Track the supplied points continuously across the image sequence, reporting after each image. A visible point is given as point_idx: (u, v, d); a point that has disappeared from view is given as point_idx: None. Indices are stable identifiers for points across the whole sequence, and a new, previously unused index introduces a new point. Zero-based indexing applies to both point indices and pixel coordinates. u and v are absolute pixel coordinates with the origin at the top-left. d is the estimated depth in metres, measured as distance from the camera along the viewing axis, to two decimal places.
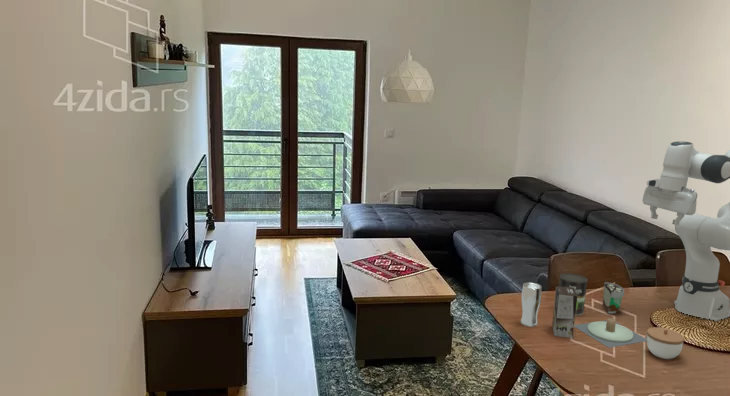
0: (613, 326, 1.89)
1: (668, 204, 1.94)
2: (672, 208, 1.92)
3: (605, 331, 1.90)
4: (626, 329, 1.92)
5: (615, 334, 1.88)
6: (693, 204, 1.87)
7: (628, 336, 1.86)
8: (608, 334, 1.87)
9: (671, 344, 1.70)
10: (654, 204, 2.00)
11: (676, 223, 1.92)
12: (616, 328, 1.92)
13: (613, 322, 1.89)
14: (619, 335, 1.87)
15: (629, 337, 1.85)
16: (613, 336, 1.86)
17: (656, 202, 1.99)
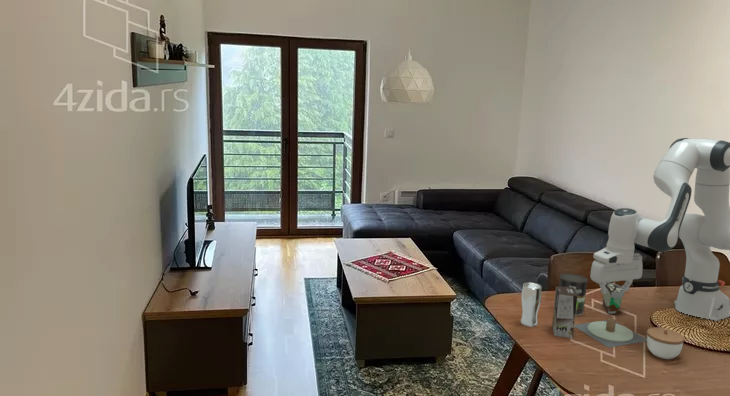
0: (613, 326, 1.89)
1: (624, 274, 1.85)
2: (628, 277, 1.86)
3: (605, 331, 1.90)
4: (626, 329, 1.92)
5: (615, 334, 1.88)
6: None
7: (628, 336, 1.86)
8: (608, 334, 1.87)
9: (671, 344, 1.70)
10: (610, 280, 1.84)
11: None
12: (616, 328, 1.92)
13: (613, 322, 1.89)
14: (619, 335, 1.87)
15: (629, 337, 1.85)
16: (613, 336, 1.86)
17: (612, 276, 1.84)
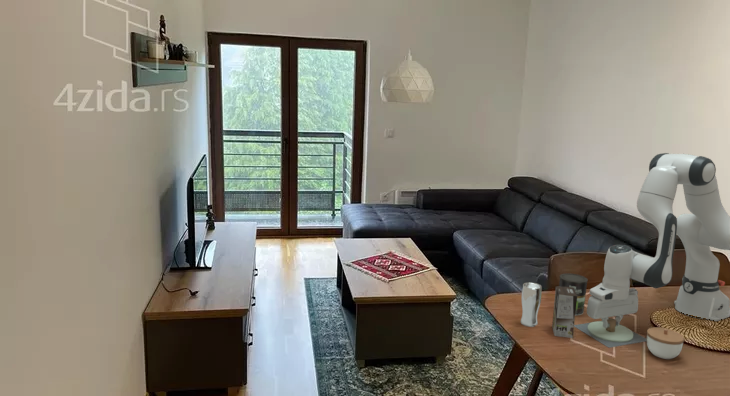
0: (613, 326, 1.89)
1: (620, 309, 1.88)
2: (624, 312, 1.89)
3: (605, 331, 1.90)
4: (626, 329, 1.92)
5: (615, 334, 1.88)
6: None
7: (628, 336, 1.86)
8: (608, 334, 1.87)
9: (671, 344, 1.70)
10: (606, 315, 1.86)
11: None
12: (616, 328, 1.92)
13: (613, 322, 1.89)
14: (619, 335, 1.87)
15: (629, 337, 1.85)
16: (613, 336, 1.86)
17: (608, 312, 1.86)
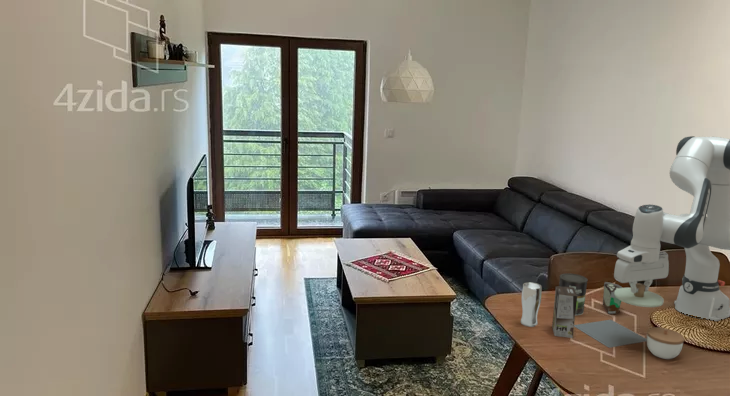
0: (642, 291, 1.79)
1: (649, 273, 1.78)
2: (654, 276, 1.79)
3: (633, 296, 1.80)
4: (655, 295, 1.82)
5: (644, 299, 1.78)
6: None
7: (659, 301, 1.76)
8: (637, 299, 1.77)
9: (671, 344, 1.70)
10: (635, 279, 1.76)
11: None
12: (645, 294, 1.82)
13: (642, 287, 1.79)
14: (649, 300, 1.77)
15: (659, 302, 1.75)
16: (642, 301, 1.76)
17: (637, 276, 1.76)
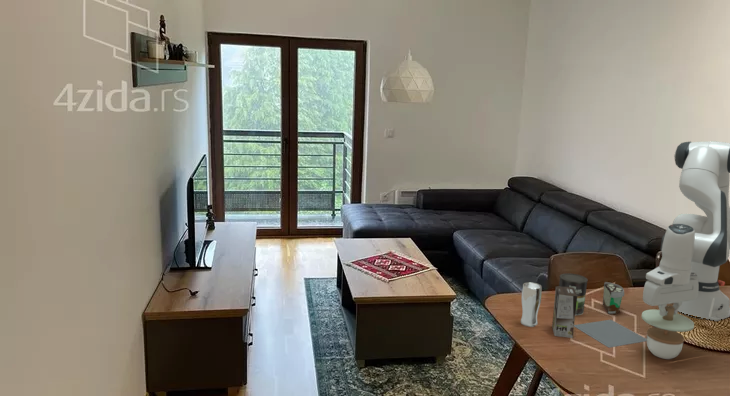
0: (671, 314, 1.72)
1: (679, 296, 1.71)
2: (684, 299, 1.72)
3: (662, 320, 1.72)
4: (685, 318, 1.74)
5: (674, 323, 1.70)
6: None
7: (689, 325, 1.69)
8: (666, 323, 1.70)
9: (671, 344, 1.70)
10: (665, 302, 1.69)
11: None
12: (673, 316, 1.75)
13: (671, 310, 1.71)
14: (679, 323, 1.70)
15: (690, 326, 1.68)
16: (672, 325, 1.69)
17: (667, 298, 1.69)
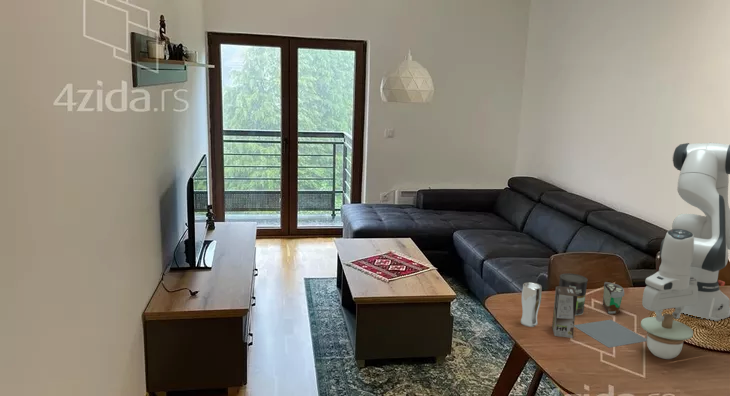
0: (670, 322, 1.72)
1: (678, 301, 1.71)
2: (683, 303, 1.72)
3: (661, 328, 1.73)
4: (684, 325, 1.75)
5: (673, 331, 1.71)
6: None
7: (688, 333, 1.69)
8: (666, 331, 1.71)
9: (671, 344, 1.70)
10: (664, 307, 1.69)
11: None
12: (673, 324, 1.76)
13: (671, 318, 1.72)
14: (678, 332, 1.70)
15: (689, 334, 1.69)
16: (671, 333, 1.69)
17: (667, 303, 1.69)
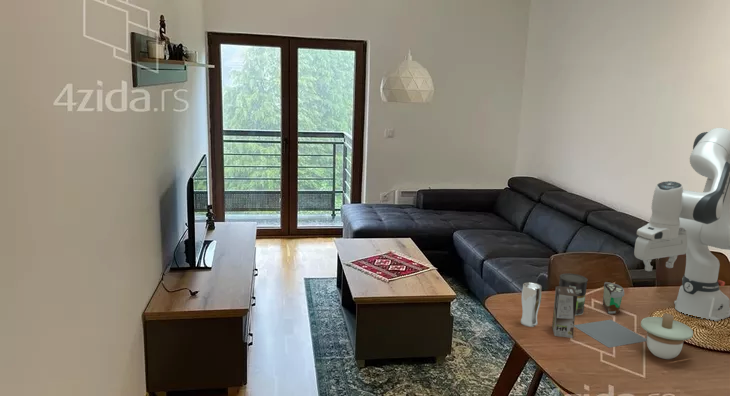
0: (671, 322, 1.72)
1: (669, 250, 1.78)
2: (673, 253, 1.79)
3: (662, 328, 1.73)
4: (684, 325, 1.75)
5: (673, 331, 1.71)
6: None
7: (688, 333, 1.69)
8: (666, 331, 1.71)
9: (671, 344, 1.70)
10: (655, 256, 1.76)
11: None
12: (673, 324, 1.76)
13: (671, 318, 1.72)
14: (678, 332, 1.70)
15: (689, 334, 1.69)
16: (671, 333, 1.69)
17: (657, 253, 1.77)
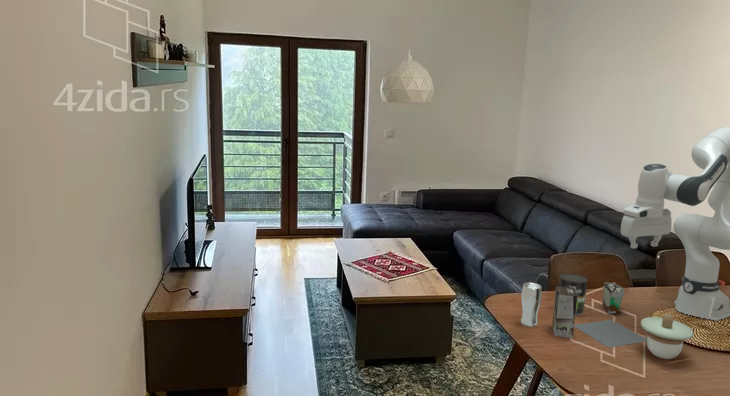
0: (671, 322, 1.72)
1: (653, 229, 1.88)
2: (658, 232, 1.89)
3: (662, 328, 1.73)
4: (684, 325, 1.75)
5: (673, 331, 1.71)
6: None
7: (688, 333, 1.69)
8: (666, 331, 1.71)
9: (671, 344, 1.70)
10: (640, 234, 1.87)
11: None
12: (672, 324, 1.76)
13: (671, 318, 1.72)
14: (678, 332, 1.70)
15: (689, 334, 1.69)
16: (671, 333, 1.69)
17: (642, 231, 1.87)
